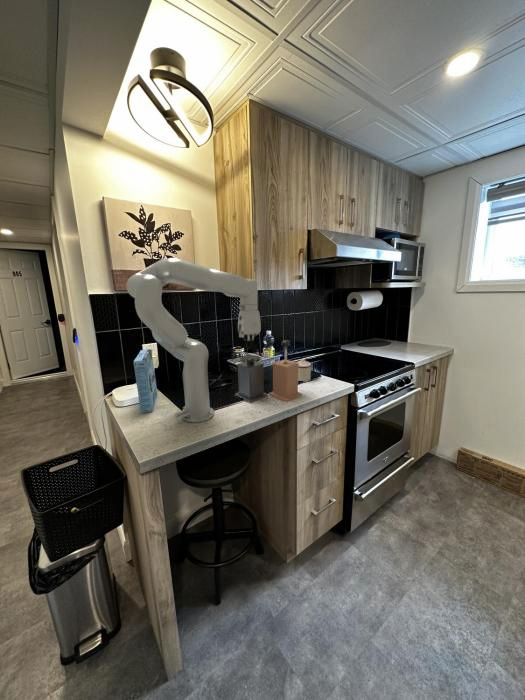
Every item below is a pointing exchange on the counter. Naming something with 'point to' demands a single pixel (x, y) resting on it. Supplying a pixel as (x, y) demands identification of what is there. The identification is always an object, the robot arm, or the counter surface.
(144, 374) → the gum box
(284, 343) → the plunger
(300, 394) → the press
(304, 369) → the teacup with lid
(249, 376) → the press
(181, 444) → the counter surface
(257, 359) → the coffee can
